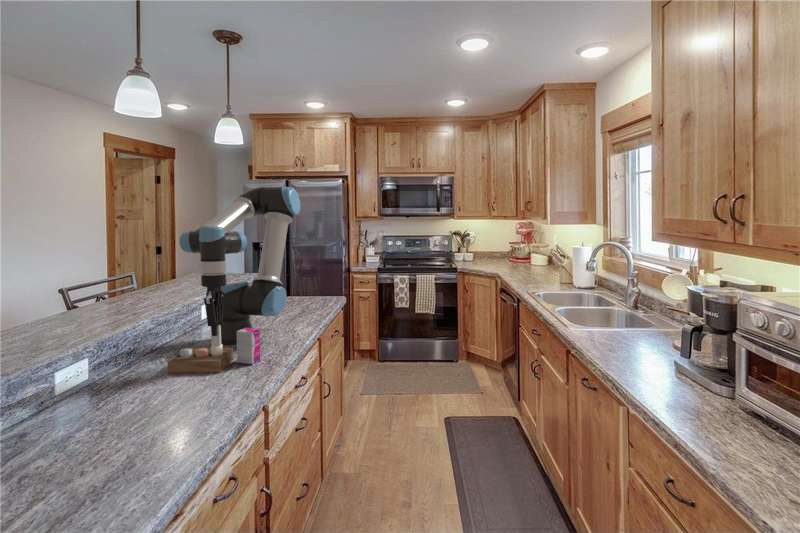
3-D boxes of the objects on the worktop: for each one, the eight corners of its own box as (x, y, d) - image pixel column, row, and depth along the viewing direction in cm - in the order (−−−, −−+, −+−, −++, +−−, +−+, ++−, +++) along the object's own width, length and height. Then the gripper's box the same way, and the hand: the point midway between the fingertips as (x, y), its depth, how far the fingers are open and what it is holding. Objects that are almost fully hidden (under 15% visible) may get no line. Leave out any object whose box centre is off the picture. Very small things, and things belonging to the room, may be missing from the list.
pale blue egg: (183, 362, 153) (182, 348, 152) (194, 362, 153) (193, 348, 153) (179, 365, 149) (178, 351, 149) (190, 365, 150) (189, 351, 149)
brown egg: (198, 362, 153) (198, 348, 153) (209, 361, 153) (209, 347, 153) (194, 365, 150) (193, 351, 149) (205, 365, 150) (205, 351, 149)
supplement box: (252, 365, 152) (251, 332, 151) (236, 364, 154) (235, 331, 152) (261, 360, 158) (260, 327, 157) (245, 359, 159) (244, 327, 158)
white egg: (213, 357, 153) (213, 343, 153) (224, 357, 154) (224, 343, 153) (210, 361, 150) (209, 346, 149) (221, 360, 150) (220, 346, 150)
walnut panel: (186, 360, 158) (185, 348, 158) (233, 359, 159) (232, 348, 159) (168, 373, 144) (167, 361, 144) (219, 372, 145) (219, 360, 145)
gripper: (208, 271, 155) (211, 339, 157) (193, 276, 142) (197, 350, 144) (231, 271, 155) (234, 339, 158) (218, 276, 142) (221, 350, 145)
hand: (216, 344), depth 151 cm, fingers closed
